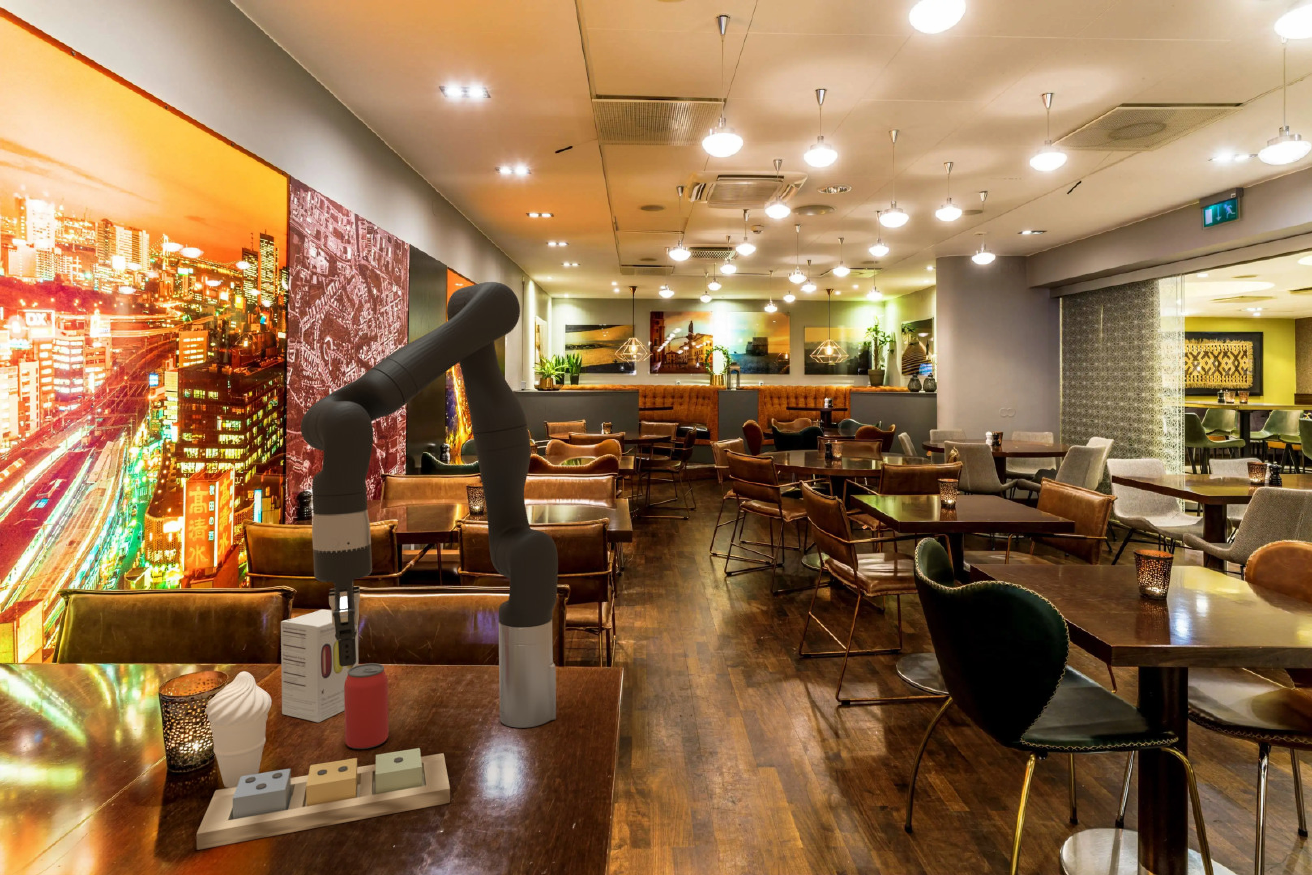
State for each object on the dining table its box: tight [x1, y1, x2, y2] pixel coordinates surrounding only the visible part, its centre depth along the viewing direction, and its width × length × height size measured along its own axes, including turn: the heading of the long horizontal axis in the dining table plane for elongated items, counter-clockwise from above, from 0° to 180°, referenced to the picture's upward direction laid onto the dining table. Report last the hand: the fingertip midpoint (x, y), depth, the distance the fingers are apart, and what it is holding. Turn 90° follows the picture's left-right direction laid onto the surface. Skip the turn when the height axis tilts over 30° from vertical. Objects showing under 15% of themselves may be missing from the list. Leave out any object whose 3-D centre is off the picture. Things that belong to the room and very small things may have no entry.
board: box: [196, 752, 451, 850], centre depth 100 cm, size 30×11×2 cm, turn 111°
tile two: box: [306, 757, 358, 806], centre depth 99 cm, size 6×6×4 cm
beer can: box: [344, 662, 390, 750], centre depth 118 cm, size 7×7×12 cm
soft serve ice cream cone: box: [204, 671, 272, 789], centre depth 105 cm, size 8×8×16 cm
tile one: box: [375, 747, 422, 794], centre depth 102 cm, size 6×6×4 cm
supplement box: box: [280, 608, 359, 723], centre depth 131 cm, size 10×9×17 cm
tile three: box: [233, 768, 292, 819], centre depth 96 cm, size 6×6×4 cm
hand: (347, 663), depth 103 cm, fingers closed
